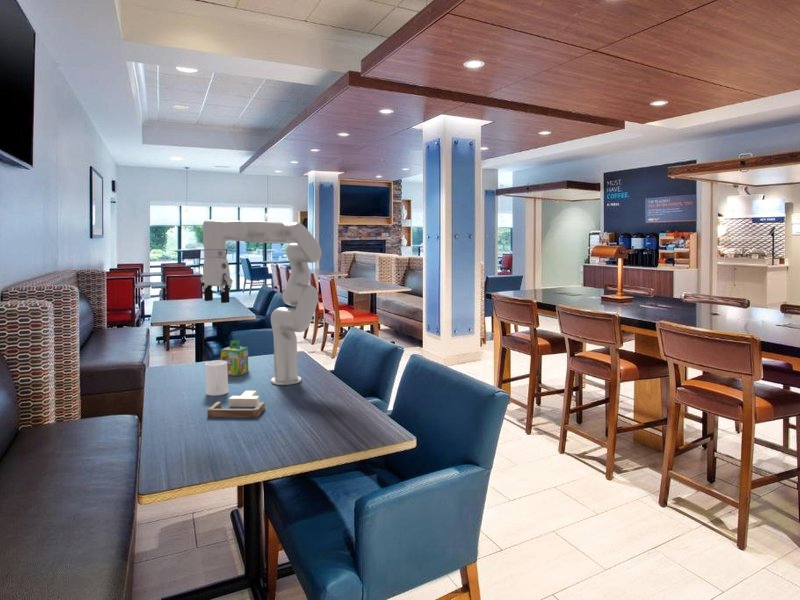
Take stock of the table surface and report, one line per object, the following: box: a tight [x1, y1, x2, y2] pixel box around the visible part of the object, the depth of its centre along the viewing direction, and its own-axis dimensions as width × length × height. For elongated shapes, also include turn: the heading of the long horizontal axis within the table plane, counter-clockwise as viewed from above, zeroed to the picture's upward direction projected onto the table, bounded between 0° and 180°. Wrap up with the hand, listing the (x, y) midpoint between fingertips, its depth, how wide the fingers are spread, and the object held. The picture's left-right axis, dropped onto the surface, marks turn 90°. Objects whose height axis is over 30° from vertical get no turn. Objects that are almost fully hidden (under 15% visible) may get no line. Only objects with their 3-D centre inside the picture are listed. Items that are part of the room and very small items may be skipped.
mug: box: [205, 359, 230, 396], centre depth 204 cm, size 12×8×12 cm
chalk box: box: [220, 340, 249, 377], centre depth 234 cm, size 9×9×15 cm
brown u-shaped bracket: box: [206, 401, 265, 419], centre depth 182 cm, size 9×17×2 cm, turn 89°
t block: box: [228, 390, 261, 408], centre depth 194 cm, size 10×10×3 cm
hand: (216, 301), depth 191 cm, fingers open, 9 cm apart
